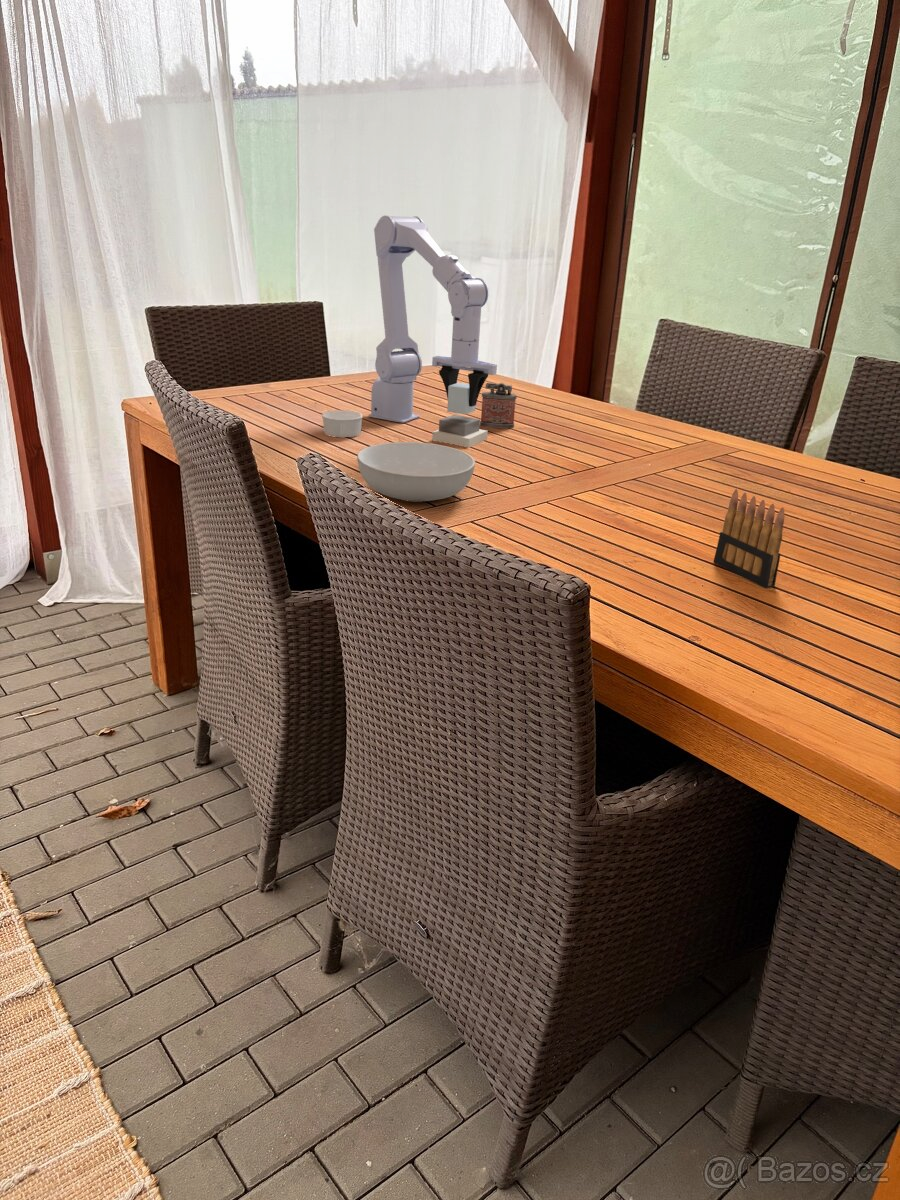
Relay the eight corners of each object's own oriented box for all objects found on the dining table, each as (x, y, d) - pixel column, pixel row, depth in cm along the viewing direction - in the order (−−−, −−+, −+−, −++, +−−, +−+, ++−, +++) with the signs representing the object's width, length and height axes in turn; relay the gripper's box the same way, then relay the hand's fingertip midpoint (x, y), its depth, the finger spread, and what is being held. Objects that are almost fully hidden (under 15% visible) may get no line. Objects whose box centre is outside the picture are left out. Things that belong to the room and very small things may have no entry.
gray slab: (438, 431, 194) (439, 419, 193) (453, 425, 199) (454, 414, 198) (464, 436, 191) (465, 424, 190) (479, 430, 197) (479, 419, 195)
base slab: (432, 443, 194) (432, 431, 193) (451, 434, 202) (452, 424, 201) (468, 450, 191) (469, 438, 190) (486, 441, 198) (487, 430, 197)
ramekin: (314, 435, 193) (314, 415, 192) (334, 427, 201) (334, 407, 199) (350, 441, 191) (350, 421, 189) (369, 432, 198) (369, 413, 196)
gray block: (447, 411, 192) (448, 385, 190) (456, 407, 196) (458, 382, 194) (465, 414, 191) (467, 388, 188) (475, 410, 194) (476, 385, 192)
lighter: (514, 425, 211) (517, 382, 206) (513, 428, 208) (517, 385, 203) (480, 422, 211) (483, 380, 207) (479, 426, 208) (482, 383, 204)
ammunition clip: (712, 562, 137) (727, 487, 132) (721, 560, 138) (736, 486, 133) (766, 588, 129) (783, 510, 124) (774, 586, 130) (792, 508, 125)
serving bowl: (385, 519, 147) (386, 479, 144) (339, 482, 164) (339, 446, 161) (494, 506, 156) (497, 468, 154) (440, 472, 173) (441, 438, 170)
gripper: (426, 337, 187) (423, 401, 192) (488, 345, 181) (483, 412, 187) (442, 333, 192) (439, 396, 198) (502, 341, 187) (498, 406, 192)
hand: (461, 403), depth 193 cm, fingers closed on gray block, 4 cm apart
